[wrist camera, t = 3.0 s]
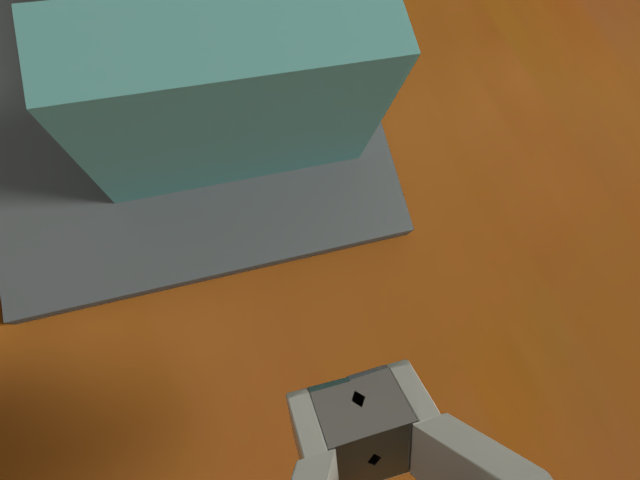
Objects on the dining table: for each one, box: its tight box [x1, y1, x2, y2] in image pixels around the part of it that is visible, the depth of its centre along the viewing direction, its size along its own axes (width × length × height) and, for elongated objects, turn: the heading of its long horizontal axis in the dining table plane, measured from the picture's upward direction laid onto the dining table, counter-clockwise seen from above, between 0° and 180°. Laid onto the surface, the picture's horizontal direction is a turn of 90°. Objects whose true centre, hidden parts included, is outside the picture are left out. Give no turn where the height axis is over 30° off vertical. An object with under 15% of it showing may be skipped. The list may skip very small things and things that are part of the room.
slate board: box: [0, 0, 414, 324], centre depth 27 cm, size 22×27×1 cm
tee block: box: [11, 0, 421, 203], centre depth 22 cm, size 14×13×10 cm
